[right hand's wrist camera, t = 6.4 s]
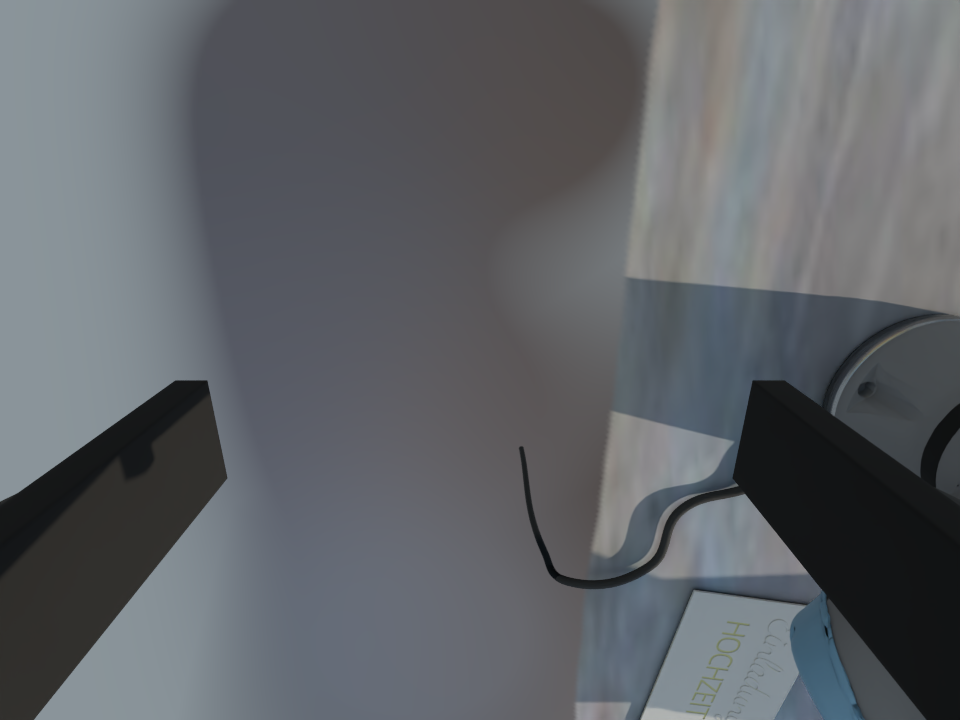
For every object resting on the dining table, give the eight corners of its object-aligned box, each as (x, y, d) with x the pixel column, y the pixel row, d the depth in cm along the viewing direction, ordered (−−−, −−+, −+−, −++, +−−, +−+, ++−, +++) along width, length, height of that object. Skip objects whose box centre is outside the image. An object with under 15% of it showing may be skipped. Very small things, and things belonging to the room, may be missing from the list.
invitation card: (694, 591, 52) (834, 610, 53) (693, 589, 52) (832, 608, 53) (636, 731, 60) (759, 746, 61) (635, 729, 60) (758, 744, 61)
